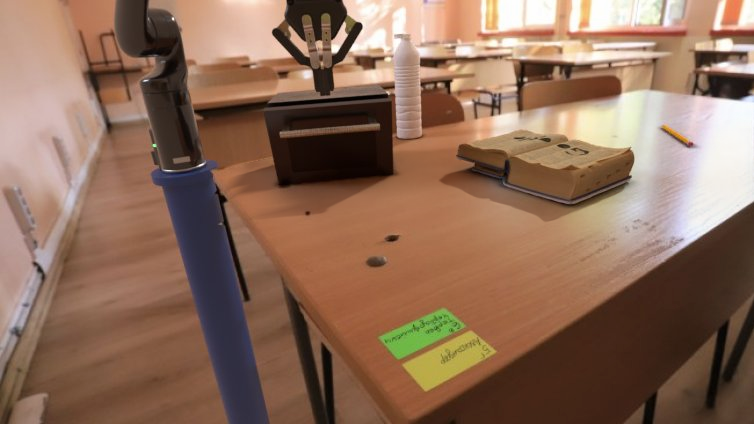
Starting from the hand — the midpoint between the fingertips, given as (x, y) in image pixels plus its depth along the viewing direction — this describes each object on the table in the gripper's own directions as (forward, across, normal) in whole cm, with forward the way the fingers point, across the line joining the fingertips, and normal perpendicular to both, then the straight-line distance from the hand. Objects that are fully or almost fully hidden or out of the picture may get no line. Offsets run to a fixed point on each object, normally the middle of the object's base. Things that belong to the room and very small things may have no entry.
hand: (325, 95), depth 61 cm
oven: (+17, 0, -23) cm, 29 cm away
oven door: (+18, 0, -12) cm, 21 cm away
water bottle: (+18, -19, -44) cm, 51 cm away
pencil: (+18, -76, -22) cm, 81 cm away
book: (+18, -36, -5) cm, 40 cm away
